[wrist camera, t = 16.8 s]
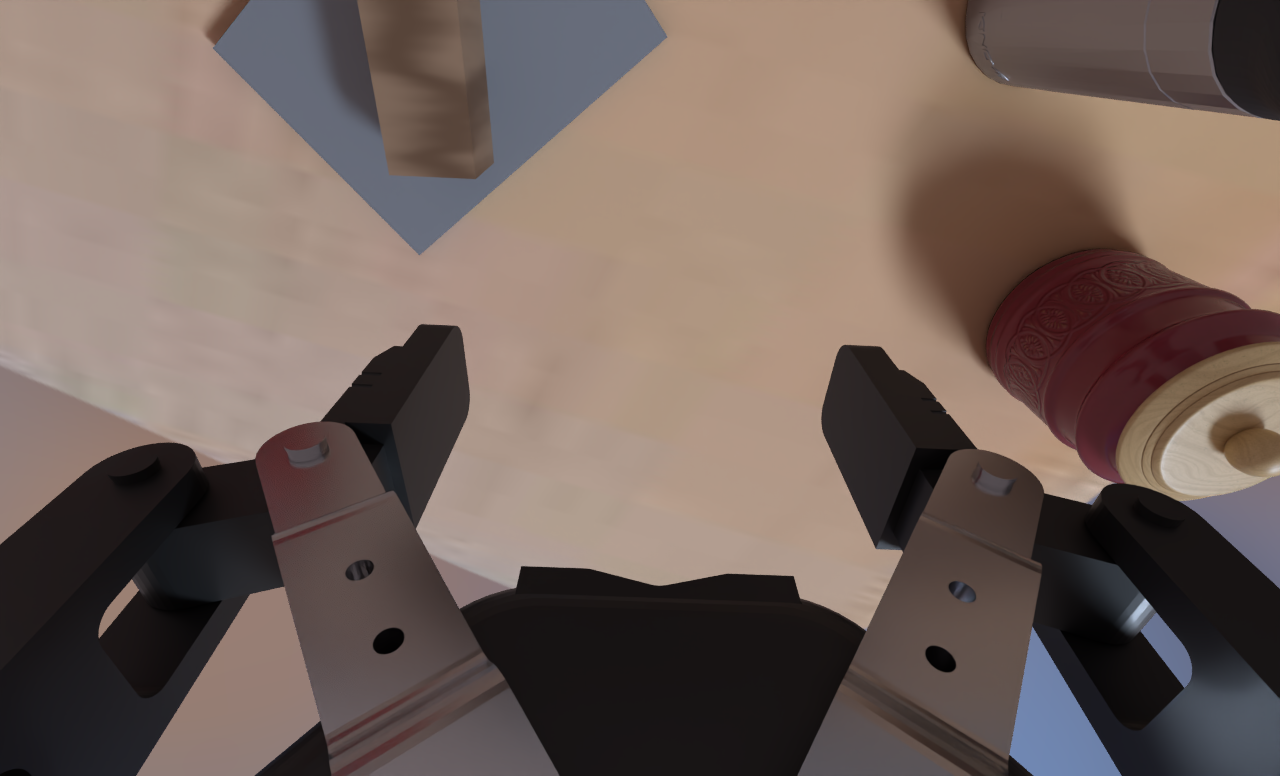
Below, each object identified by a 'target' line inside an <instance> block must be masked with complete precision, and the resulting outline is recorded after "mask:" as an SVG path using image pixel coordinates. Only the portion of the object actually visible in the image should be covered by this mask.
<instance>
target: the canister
mask: <svg viewBox="0 0 1280 776" xmlns="http://www.w3.org/2000/svg"><path fill="white" fill-rule="evenodd" d="M986 355H987V360H988V363H989V365H990V367H991V369H992V371H993V372H994V375H995V377H996V378H997V380H998V382H999V383H1000V384H1001V385H1002V387H1003V388H1004V389H1006V390H1007V391H1008V392H1009V394H1011V395H1012V396H1013V397H1014V398H1016V399H1017V400H1019V401H1021V402H1023V403H1024V404H1025V405H1026V406H1027V407H1028V408H1029V409H1030V410H1031V411H1032V412H1033V413H1034V414H1035V415H1036V416H1038V417H1039V418H1040V419H1041V420H1042V421H1043V422H1044V423H1045V424H1046V425H1047V426H1048V427H1049V429H1050V430H1051V432H1052V433H1053V434H1054V436H1055V437H1056V438H1057V439H1058V440H1060V441H1061V442H1062V443H1064V444H1065V445H1067V446H1069V447H1071V448H1073V449H1075V450H1077V452H1078V455H1079V457H1080V459H1081V460H1082V462H1083V463H1084V464H1085V466H1086V467H1087V468H1088V469H1089V470H1090V471H1092V472H1093V473H1094V474H1096V475H1097V476H1099V477H1101V478H1103V479H1106V480H1108V481H1111V482H1114V483H1123V484H1133V485H1137V486H1142V487H1145V488H1149V489H1152V490H1155V491H1157V492H1160V493H1162V494H1165V495H1167V496H1169V497H1171V498H1173V499H1175V500H1177V501H1184V500H1194V499H1200V498H1205V497H1210V496H1216V495H1222V494H1227V493H1231V492H1235V491H1239V490H1242V489H1244V488H1248V487H1250V486H1253V485H1255V484H1257V483H1260V482H1262V481H1264V480H1266V479H1268V478H1270V477H1273V476H1278V475H1280V314H1278V313H1275V312H1271V311H1266V310H1259V309H1251V308H1250V307H1249V305H1248V304H1246V303H1245V302H1244V301H1243V300H1242V299H1240V298H1239V297H1237V296H1235V295H1233V294H1231V293H1228V292H1226V291H1223V290H1219V289H1215V288H1210V287H1207V286H1205V285H1203V284H1200V283H1198V282H1196V281H1194V280H1191V279H1189V278H1187V277H1184V276H1182V275H1180V274H1178V273H1175V272H1173V271H1171V270H1169V269H1168V268H1166V267H1165V266H1164V265H1162V264H1161V263H1159V262H1157V261H1155V260H1153V259H1150V258H1148V257H1146V256H1143V255H1140V254H1137V253H1133V252H1127V251H1118V250H1113V249H1092V250H1085V251H1080V252H1076V253H1073V254H1069V255H1067V256H1064V257H1061V258H1059V259H1057V260H1054V261H1052V262H1050V263H1048V264H1047V265H1045V266H1043V267H1041V268H1040V269H1038V270H1037V271H1035V272H1034V273H1032V274H1031V275H1030V276H1028V277H1027V278H1026V279H1024V280H1023V281H1022V282H1021V283H1020V284H1019V285H1018V286H1017V287H1016V288H1015V289H1014V290H1013V291H1012V292H1011V293H1010V294H1009V295H1008V296H1007V297H1006V299H1005V300H1004V301H1003V303H1002V304H1001V305H1000V307H999V309H998V310H997V312H996V314H995V315H994V317H993V320H992V322H991V324H990V327H989V330H988V334H987V339H986Z"/></svg>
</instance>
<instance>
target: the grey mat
mask: <svg viewBox="0 0 1280 776" xmlns="http://www.w3.org/2000/svg"><path fill="white" fill-rule="evenodd" d="M480 9H481V20H482V32H483V43H484V54H485V66H486V77H487V89H488V100H489V111H490V123H491V134H492V145H493V157H494V163H493V164H492V165H491V166H490V167H489V168H488V169H487V170H485V171H484V172H483V173H482V174H481V175H480V176H479V177H478V178H476V179H461V178H439V177H417V176H395V175H389V171H388V166H387V160H386V155H385V150H384V144H383V139H382V133H381V128H380V122H379V117H378V112H377V106H376V101H375V95H374V90H373V84H372V79H371V73H370V68H369V63H368V57H367V52H366V46H365V41H364V35H363V30H362V24H361V19H360V14H359V8H358V3H357V0H250V1H249V3H248V4H247V5H246V6H245V8H244V9H243V10H242V11H241V13H240V14H239V15H238V17H237V18H236V19H235V20H234V22H233V23H232V24H231V26H230V27H229V28H228V29H227V31H226V32H225V33H224V34H223V36H222V37H221V38H220V40H219V41H218V42H217V43H216V45H215V46H214V47H213V49H214V50H215V51H216V52H217V53H218V54H219V55H220V56H221V57H222V58H223V59H224V60H225V61H226V62H227V63H228V64H229V65H230V66H231V67H232V68H233V69H234V70H235V71H236V72H237V73H238V74H239V75H240V76H241V77H242V78H243V79H244V80H245V81H246V82H247V83H248V84H249V85H250V86H251V87H252V88H253V89H254V90H255V91H256V92H257V93H258V94H259V95H260V96H261V97H262V98H263V99H264V100H265V101H266V102H267V103H268V104H269V105H270V106H271V107H272V108H273V109H274V110H275V111H276V112H277V113H278V114H279V115H280V116H281V117H282V118H283V119H284V120H285V121H286V122H287V123H288V124H289V125H290V126H291V127H292V128H293V129H294V130H295V131H296V132H297V133H298V134H299V135H300V136H301V137H302V138H303V139H304V140H305V141H306V142H307V143H308V144H309V145H310V146H311V147H312V148H313V149H314V150H315V151H316V152H317V153H318V154H319V155H320V156H321V157H322V158H323V159H324V160H325V161H326V162H327V163H328V164H329V165H330V166H331V167H332V168H333V169H334V170H335V171H336V172H337V173H338V174H339V175H340V176H341V177H342V178H343V179H344V180H345V181H346V182H347V183H348V184H349V185H350V186H351V187H352V188H353V189H354V190H355V191H356V192H357V193H358V194H359V195H360V196H361V197H362V198H363V199H364V200H365V201H366V202H367V203H368V204H369V205H370V206H371V207H372V208H373V209H374V210H375V211H376V212H377V213H378V214H379V215H380V216H381V217H382V218H383V219H384V220H385V221H386V222H387V223H388V224H389V225H390V226H391V227H392V228H393V229H394V230H395V231H396V232H397V233H398V234H399V235H400V236H401V237H402V238H403V239H404V240H405V241H406V242H407V243H408V244H409V245H410V246H411V247H412V248H413V249H414V250H415V251H416V252H417V253H418V254H419V255H420V254H421V253H422V252H424V251H425V250H426V249H427V248H428V247H429V246H430V245H432V244H433V243H434V242H435V241H436V240H437V239H438V238H439V237H441V236H442V235H443V234H444V233H445V232H446V231H447V230H449V229H450V228H451V227H452V226H453V225H454V224H455V223H457V222H458V221H459V220H460V219H461V218H462V217H463V216H464V215H466V214H467V213H468V212H469V211H470V210H471V209H472V208H474V207H475V206H476V205H477V204H478V203H479V202H480V201H481V200H483V199H484V198H485V197H486V196H487V195H488V194H489V193H491V192H492V191H493V190H494V189H495V188H496V187H497V186H499V185H500V184H501V183H502V182H503V181H504V180H505V179H506V178H508V177H509V176H510V175H511V174H512V173H513V172H514V171H516V170H517V169H518V168H519V167H520V166H521V165H522V164H524V163H525V162H526V161H527V160H528V159H529V158H530V157H531V156H533V155H534V154H535V153H536V152H537V151H538V150H539V149H541V148H542V147H543V146H544V145H545V144H546V143H547V142H549V141H550V140H551V139H552V138H553V137H554V136H555V135H556V134H558V133H559V132H560V131H561V130H562V129H563V128H564V127H566V126H567V125H568V124H569V123H570V122H571V121H572V120H574V119H575V118H576V117H577V116H578V115H579V114H580V113H581V112H583V111H584V110H585V109H586V108H587V107H588V106H589V105H591V104H592V103H593V102H594V101H595V100H596V99H597V98H599V97H600V96H601V95H602V94H603V93H604V92H605V91H606V90H608V89H609V88H610V87H611V86H612V85H613V84H614V83H616V82H617V81H618V80H619V79H620V78H621V77H622V76H624V75H625V74H626V73H627V72H628V71H629V70H630V69H631V68H633V67H634V66H635V65H636V64H637V63H638V62H639V61H641V60H642V59H643V58H644V57H645V56H646V55H647V54H649V53H650V52H651V51H652V50H653V49H654V48H655V47H656V46H658V45H659V44H660V43H661V42H662V41H663V40H664V39H666V38H667V35H666V34H665V32H664V31H663V29H662V27H661V26H660V24H659V23H658V21H657V19H656V18H655V16H654V15H653V13H652V11H651V10H650V8H649V7H648V5H647V3H646V2H645V0H480Z"/></svg>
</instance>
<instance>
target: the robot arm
mask: <svg viewBox="0 0 1280 776" xmlns="http://www.w3.org/2000/svg"><path fill="white" fill-rule="evenodd" d="M966 39H967V43H968V47H969V51H970V54H971V56H972V57H973V59H974V61H975V63H976V65H977V67H978V68H979V69H980V70H981V71H982V72H983V73H984V74H985V75H986V76H987V77H989V78H991V79H993V80H995V81H997V82H998V83H1002V84H1006V85H1010V86H1016V87H1024V88H1032V89H1039V90H1046V91H1052V92H1060V93H1068V94H1075V95H1083V96H1091V97H1099V98H1107V99H1114V100H1122V101H1130V102H1138V103H1146V104H1153V105H1161V106H1169V107H1177V108H1185V109H1192V110H1203V111H1210V112H1218V113H1226V114H1233V115H1241V116H1249V117H1257V118H1265V119H1271V120H1278V121H1280V0H968V7H967V13H966ZM469 402H470V391H469V383H468V375H467V368H466V360H465V352H464V345H463V338H462V333H461V330H460V328H459V327H458V326H448V325H426V324H421V325H419V326H418V327H417V329H416V330H415V331H414V333H413V334H412V335H411V336H410V338H409V339H408V340H407V342H406V343H405V344H404V346H393V347H392V348H390V349H388V350H386V351H385V352H383V353H381V354H379V355H378V356H376V357H374V358H373V359H372V360H371V362H370V363H369V364H368V365H367V366H366V368H365V369H364V370H363V371H362V375H359V376H358V377H357V378H356V380H355V381H354V382H353V383H352V387H349V388H348V389H347V390H346V391H345V393H344V394H343V395H342V396H341V397H340V399H339V400H338V401H337V402H336V403H335V405H334V406H333V407H332V408H331V409H330V411H329V412H328V413H327V414H326V415H325V417H324V418H323V419H322V420H321V421H320V422H313V423H306V424H302V425H298V426H295V427H292V428H289V429H287V430H285V431H282V432H281V433H279V434H277V435H275V436H273V437H272V438H271V439H269V440H268V441H267V442H265V443H264V444H263V445H262V447H261V448H260V449H259V450H258V452H257V454H256V458H255V459H254V460H248V461H242V462H236V463H229V464H223V465H217V466H210V467H204V468H202V467H201V465H200V463H199V461H198V459H197V457H196V454H195V452H194V451H193V450H192V449H191V448H190V447H188V446H186V445H183V444H178V443H156V444H149V445H144V446H140V447H136V448H132V449H129V450H126V451H123V452H121V453H118V454H116V455H113V456H111V457H109V458H107V459H105V460H103V461H101V462H100V463H98V464H96V465H95V466H93V467H92V468H90V469H89V470H88V471H86V472H85V473H84V474H83V475H82V476H80V477H79V478H78V479H77V480H76V481H75V482H73V483H72V484H71V485H70V486H69V487H67V488H66V489H65V490H64V491H63V492H62V493H61V494H59V495H58V496H57V497H56V498H55V499H53V500H52V501H51V502H50V503H49V504H48V505H46V506H45V507H44V508H43V509H42V510H40V511H39V512H38V513H37V514H36V515H35V516H33V517H32V518H31V519H30V520H29V521H27V522H26V523H25V524H24V525H23V526H22V527H20V528H19V529H18V530H17V531H16V532H15V533H14V534H12V535H11V536H10V537H9V538H7V539H6V540H5V541H4V542H3V543H2V544H1V545H0V776H136V775H137V773H138V772H139V770H140V769H141V767H142V765H143V764H144V762H145V761H146V759H147V757H148V756H149V754H150V753H151V751H152V749H153V748H154V746H155V745H156V743H157V741H158V740H159V738H160V737H161V735H162V733H163V732H164V730H165V729H166V727H167V725H168V724H169V722H170V721H171V719H172V718H173V716H174V714H175V713H176V711H177V709H178V708H179V706H180V705H181V703H182V701H183V700H184V698H185V697H186V695H187V694H188V692H189V690H190V689H191V687H192V686H193V684H194V682H195V681H196V679H197V677H198V676H199V674H200V673H201V671H202V670H203V668H204V666H205V665H206V663H207V662H208V660H209V658H210V657H211V655H212V654H213V652H214V651H215V649H216V647H217V645H218V644H219V643H220V641H221V639H222V638H223V636H224V635H225V633H226V631H227V630H228V628H229V627H230V625H231V623H232V622H233V620H234V619H235V617H236V616H237V614H238V612H239V611H240V609H241V607H242V606H243V604H244V603H245V601H246V600H247V598H248V596H249V595H250V594H252V593H257V592H261V591H266V590H270V589H274V588H279V587H284V586H285V590H286V594H287V597H288V601H289V605H290V608H291V612H292V616H293V619H294V623H295V627H296V631H297V635H298V638H299V642H300V646H301V649H302V653H303V657H304V660H305V664H306V668H307V672H308V675H309V679H310V683H311V686H312V690H313V694H314V697H315V701H316V705H317V709H318V713H319V716H320V720H321V721H320V722H318V723H317V724H316V725H315V726H314V727H312V728H311V729H310V730H309V731H308V732H306V733H305V734H304V735H303V736H302V737H300V738H299V739H298V740H297V741H296V742H295V743H293V744H292V745H291V746H290V747H288V748H287V749H286V750H285V751H284V752H282V753H281V754H280V755H279V756H278V757H276V758H275V759H274V760H273V761H272V762H270V763H269V764H268V765H267V766H266V767H264V768H263V769H262V770H261V771H260V772H258V773H257V774H256V775H255V776H1033V775H1032V774H1031V773H1030V772H1028V771H1027V770H1026V769H1025V768H1024V767H1023V766H1022V765H1020V764H1019V763H1018V762H1017V761H1016V760H1015V759H1014V758H1012V757H1011V756H1010V755H1009V753H1010V747H1011V741H1012V736H1013V731H1014V725H1015V719H1016V714H1017V708H1018V702H1019V697H1020V692H1021V686H1022V679H1023V675H1024V669H1025V663H1026V658H1027V652H1028V646H1029V641H1030V635H1031V630H1032V626H1033V628H1034V630H1035V631H1036V633H1037V635H1038V636H1039V638H1040V640H1041V641H1042V643H1043V645H1044V646H1045V648H1046V650H1047V651H1048V653H1049V655H1050V656H1051V658H1052V660H1053V661H1054V663H1055V665H1056V666H1057V668H1058V670H1059V671H1060V673H1061V675H1062V676H1063V678H1064V680H1065V682H1066V683H1067V685H1068V687H1069V688H1070V690H1071V692H1072V693H1073V695H1074V697H1075V698H1076V700H1077V702H1078V703H1079V705H1080V707H1081V708H1082V710H1083V712H1084V713H1085V715H1086V717H1087V718H1088V720H1089V722H1090V723H1091V725H1092V727H1093V728H1094V730H1095V732H1096V733H1097V735H1098V737H1099V738H1100V740H1101V742H1102V743H1103V745H1104V747H1105V748H1106V750H1107V752H1108V754H1109V755H1110V757H1111V759H1112V760H1113V762H1114V764H1115V765H1116V767H1117V769H1118V770H1119V772H1120V773H1121V775H1122V776H1280V589H1279V588H1278V587H1277V586H1276V585H1275V584H1274V583H1273V582H1272V581H1271V580H1270V579H1269V578H1267V577H1266V576H1265V575H1264V574H1263V573H1262V572H1261V571H1260V570H1259V569H1258V568H1256V567H1255V566H1254V565H1253V564H1252V563H1251V562H1250V561H1249V560H1248V559H1247V558H1246V557H1245V556H1244V555H1242V554H1241V553H1240V552H1239V551H1238V550H1237V549H1236V548H1235V547H1234V546H1233V545H1232V544H1231V543H1229V542H1228V541H1227V540H1226V539H1225V538H1224V537H1223V536H1222V535H1221V534H1220V533H1219V532H1217V531H1216V530H1215V529H1214V528H1213V527H1212V526H1211V525H1210V524H1209V523H1207V521H1205V520H1204V519H1203V518H1202V517H1201V516H1200V515H1198V514H1197V513H1196V512H1195V511H1193V510H1192V509H1190V508H1189V507H1187V506H1186V505H1184V504H1183V503H1181V502H1179V501H1177V500H1175V499H1173V498H1171V497H1169V496H1167V495H1165V494H1162V493H1160V492H1157V491H1155V490H1152V489H1149V488H1145V487H1142V486H1137V485H1133V484H1123V483H1117V484H1111V485H1108V486H1106V487H1104V488H1103V490H1102V491H1101V493H1100V494H1099V496H1098V497H1097V499H1096V500H1095V502H1094V503H1093V505H1090V504H1086V503H1082V502H1078V501H1074V500H1069V499H1065V498H1061V497H1057V496H1053V495H1049V494H1045V493H1044V489H1043V486H1042V484H1041V483H1040V481H1039V480H1038V479H1037V477H1036V476H1035V475H1034V474H1033V473H1031V472H1030V471H1029V470H1028V469H1026V468H1025V467H1024V466H1022V465H1020V464H1019V463H1017V462H1015V461H1013V460H1011V459H1009V458H1007V457H1005V456H1002V455H1000V454H997V453H994V452H990V451H985V450H979V449H977V448H976V447H975V446H974V444H973V443H972V442H971V441H970V439H969V438H968V437H967V436H966V435H965V433H964V432H963V431H962V430H961V428H960V427H959V426H958V425H957V423H956V422H955V421H954V420H953V419H952V417H951V416H950V415H949V414H946V410H945V409H944V408H943V406H942V405H941V404H940V403H939V402H936V398H935V396H934V395H933V394H932V393H931V392H930V390H929V389H928V388H927V387H926V385H925V384H924V383H922V382H921V381H919V380H918V379H916V378H915V377H913V376H912V375H910V374H909V373H907V372H906V371H904V370H899V369H898V368H897V367H896V365H895V364H894V363H893V361H892V360H891V359H890V358H889V356H888V355H887V354H886V352H885V351H884V350H883V349H882V348H881V347H878V346H857V345H843V346H842V347H841V348H840V349H839V351H838V353H837V356H836V360H835V363H834V367H833V371H832V374H831V378H830V382H829V385H828V389H827V393H826V396H825V400H824V404H823V408H822V419H821V420H822V430H823V434H824V436H825V439H826V441H827V443H828V445H829V447H830V449H831V452H832V454H833V456H834V458H835V460H836V463H837V465H838V467H839V469H840V471H841V473H842V476H843V478H844V480H845V482H846V484H847V487H848V489H849V491H850V493H851V495H852V498H853V500H854V502H855V504H856V506H857V508H858V511H859V513H860V515H861V517H862V519H863V522H864V524H865V526H866V528H867V530H868V532H869V535H870V537H871V539H872V541H873V543H874V546H875V548H876V549H890V550H902V551H903V554H902V556H901V558H900V560H899V563H898V565H897V567H896V569H895V571H894V573H893V575H892V577H891V580H890V582H889V584H888V586H887V588H886V590H885V592H884V594H883V597H882V599H881V601H880V603H879V605H878V607H877V609H876V611H875V614H874V616H873V618H872V620H871V622H870V624H869V626H868V628H867V631H865V630H864V629H863V628H861V627H860V626H858V625H857V624H856V623H854V622H852V621H851V620H849V619H847V618H846V617H844V616H842V615H841V614H839V613H837V612H834V611H832V610H830V609H828V608H826V607H824V606H821V605H818V604H816V603H813V602H810V601H807V600H803V599H800V597H799V594H798V590H797V587H796V583H795V580H794V576H776V575H748V574H723V575H718V576H713V577H707V578H702V579H697V580H692V581H686V582H681V583H676V584H670V585H664V586H655V585H650V584H646V583H642V582H639V581H635V580H631V579H627V578H623V577H619V576H615V575H611V574H607V573H604V572H600V571H596V570H592V569H583V568H555V567H528V566H521V570H520V575H519V579H518V583H517V588H514V589H509V590H505V591H501V592H498V593H495V594H491V595H488V596H486V597H483V598H481V599H479V600H476V601H474V602H472V603H470V604H468V605H466V606H464V607H462V608H460V609H459V608H458V606H457V604H456V602H455V600H454V598H453V596H452V595H451V593H450V591H449V589H448V587H447V586H446V584H445V582H444V580H443V579H442V577H441V575H440V573H439V571H438V569H437V567H436V565H435V564H434V562H433V560H432V558H431V556H430V555H429V553H428V551H427V549H426V547H425V545H424V544H423V542H422V540H421V538H420V536H419V535H418V533H417V531H416V527H417V525H418V523H419V521H420V519H421V516H422V514H423V512H424V510H425V508H426V505H427V503H428V501H429V499H430V497H431V495H432V492H433V490H434V488H435V486H436V484H437V481H438V479H439V477H440V475H441V473H442V471H443V468H444V466H445V464H446V462H447V460H448V458H449V455H450V453H451V451H452V449H453V447H454V444H455V442H456V440H457V438H458V436H459V434H460V431H461V429H462V427H463V425H464V423H465V420H466V418H467V415H468V410H469ZM131 579H132V580H133V581H134V583H135V584H136V586H137V588H138V589H139V591H138V592H137V594H136V595H135V596H134V597H133V598H132V600H131V601H130V602H129V603H128V604H127V606H126V607H125V608H124V609H123V611H122V612H121V613H120V614H119V615H118V617H117V618H116V619H115V620H114V621H113V622H112V624H111V625H110V626H109V627H108V628H107V630H106V631H105V632H104V633H103V635H102V636H101V637H100V638H99V637H98V631H99V625H100V622H101V619H102V617H103V615H104V613H105V611H106V609H107V607H108V606H109V605H110V604H111V602H112V601H113V600H114V599H115V598H116V596H117V595H118V594H119V593H120V592H121V591H122V590H123V588H124V587H125V586H126V585H127V584H128V583H129V582H130V580H131ZM1156 612H1157V613H1158V614H1159V616H1160V617H1161V618H1162V619H1163V621H1164V622H1165V623H1166V624H1167V625H1168V626H1169V628H1170V629H1171V630H1172V631H1173V633H1174V634H1175V635H1176V636H1177V637H1178V639H1179V640H1180V641H1181V642H1182V644H1183V645H1184V646H1185V648H1186V650H1187V652H1188V654H1189V656H1190V659H1191V663H1192V677H1191V680H1190V682H1189V684H1188V685H1187V686H1186V687H1185V688H1184V687H1183V686H1182V684H1181V683H1180V682H1179V680H1178V679H1177V678H1176V677H1175V675H1174V674H1173V673H1172V671H1171V670H1170V669H1169V668H1168V666H1167V665H1166V664H1165V662H1164V661H1163V660H1162V658H1161V657H1160V656H1159V655H1158V653H1157V652H1156V651H1155V649H1154V648H1153V647H1152V646H1151V644H1150V643H1149V642H1148V640H1147V639H1146V638H1145V637H1144V635H1143V634H1142V633H1141V629H1142V628H1143V627H1144V626H1145V625H1146V624H1147V622H1148V621H1149V620H1150V619H1151V618H1152V617H1153V615H1154V614H1155V613H1156Z"/></svg>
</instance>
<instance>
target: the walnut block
mask: <svg viewBox="0 0 1280 776" xmlns="http://www.w3.org/2000/svg"><path fill="white" fill-rule="evenodd" d="M357 3H358V8H359V14H360V19H361V24H362V30H363V35H364V41H365V46H366V52H367V57H368V63H369V68H370V73H371V79H372V84H373V90H374V95H375V101H376V106H377V112H378V117H379V122H380V128H381V133H382V139H383V144H384V150H385V155H386V160H387V166H388V171H389V175H395V176H417V177H439V178H461V179H476V178H478V177H479V176H480V175H481V174H482V173H483V172H484V171H485V170H487V169H488V168H489V167H490V166H491V165H492V164H493V163H494V157H493V145H492V134H491V123H490V111H489V100H488V89H487V77H486V66H485V54H484V43H483V32H482V20H481V9H480V0H357Z"/></svg>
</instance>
